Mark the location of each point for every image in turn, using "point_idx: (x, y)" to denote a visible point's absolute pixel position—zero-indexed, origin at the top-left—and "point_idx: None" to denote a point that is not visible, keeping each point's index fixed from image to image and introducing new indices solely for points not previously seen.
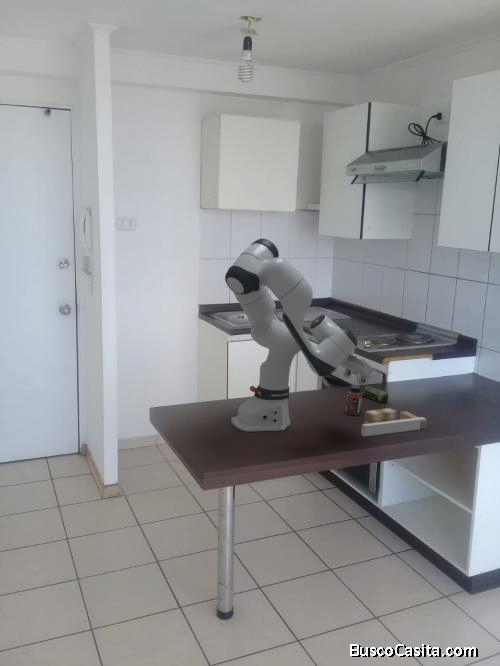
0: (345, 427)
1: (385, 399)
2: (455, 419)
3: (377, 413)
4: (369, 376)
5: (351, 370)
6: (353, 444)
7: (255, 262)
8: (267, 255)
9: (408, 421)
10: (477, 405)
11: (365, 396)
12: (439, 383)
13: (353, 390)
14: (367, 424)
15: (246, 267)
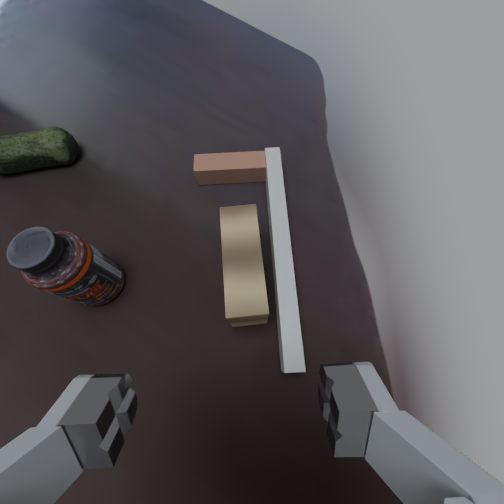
0: (204, 388)
1: (75, 147)
2: (240, 83)
3: (261, 285)
4: (375, 377)
5: (61, 485)
6: (363, 461)
7: None
8: None
9: (285, 198)
10: (183, 15)
11: (11, 173)
12: (43, 3)
13: (47, 268)
14: (290, 350)
15: None
